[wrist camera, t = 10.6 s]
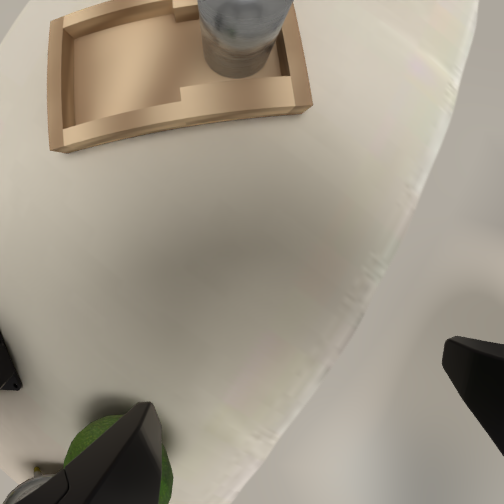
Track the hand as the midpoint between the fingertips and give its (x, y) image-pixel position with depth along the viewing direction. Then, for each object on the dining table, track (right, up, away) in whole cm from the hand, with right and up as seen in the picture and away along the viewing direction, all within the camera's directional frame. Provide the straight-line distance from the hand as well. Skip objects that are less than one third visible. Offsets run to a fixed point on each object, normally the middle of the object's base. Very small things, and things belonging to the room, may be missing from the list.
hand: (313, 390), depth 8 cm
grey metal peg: (-3, +16, +9) cm, 18 cm away
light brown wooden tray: (-7, +16, +9) cm, 19 cm away
